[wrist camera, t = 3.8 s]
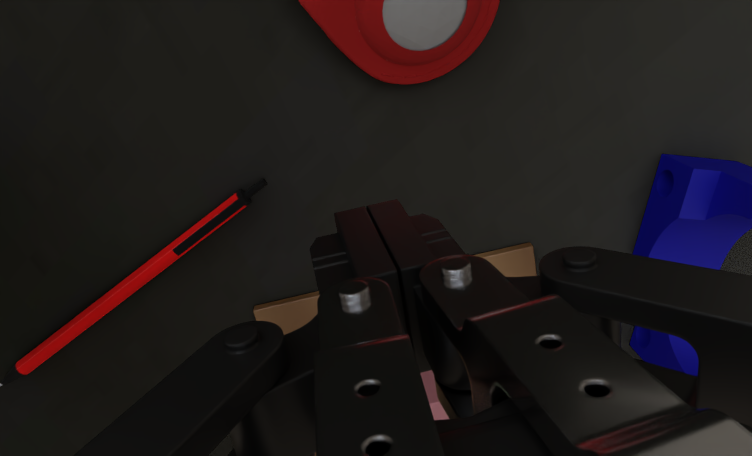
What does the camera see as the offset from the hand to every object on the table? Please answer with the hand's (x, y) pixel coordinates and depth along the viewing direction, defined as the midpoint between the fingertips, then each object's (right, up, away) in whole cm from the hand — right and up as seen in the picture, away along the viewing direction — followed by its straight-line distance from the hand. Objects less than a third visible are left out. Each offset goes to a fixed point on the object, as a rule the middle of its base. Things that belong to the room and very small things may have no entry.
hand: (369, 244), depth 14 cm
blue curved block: (+17, -1, +22) cm, 28 cm away
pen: (-13, -3, +19) cm, 23 cm away
